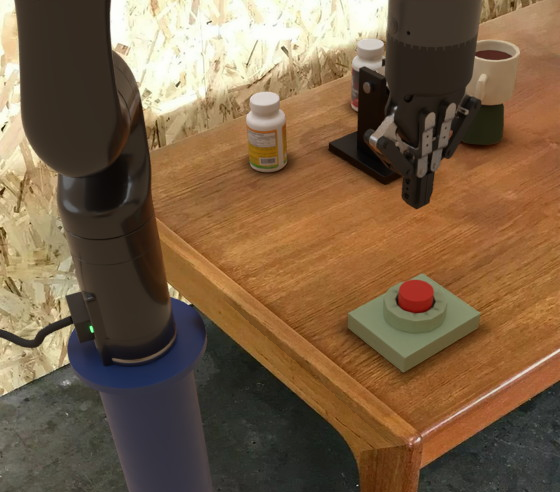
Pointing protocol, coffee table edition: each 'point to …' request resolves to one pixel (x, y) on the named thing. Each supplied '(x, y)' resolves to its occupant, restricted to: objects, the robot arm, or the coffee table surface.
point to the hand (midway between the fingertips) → (416, 203)
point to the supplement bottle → (266, 133)
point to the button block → (412, 325)
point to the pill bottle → (365, 63)
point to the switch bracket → (367, 127)
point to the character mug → (491, 89)
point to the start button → (415, 296)
